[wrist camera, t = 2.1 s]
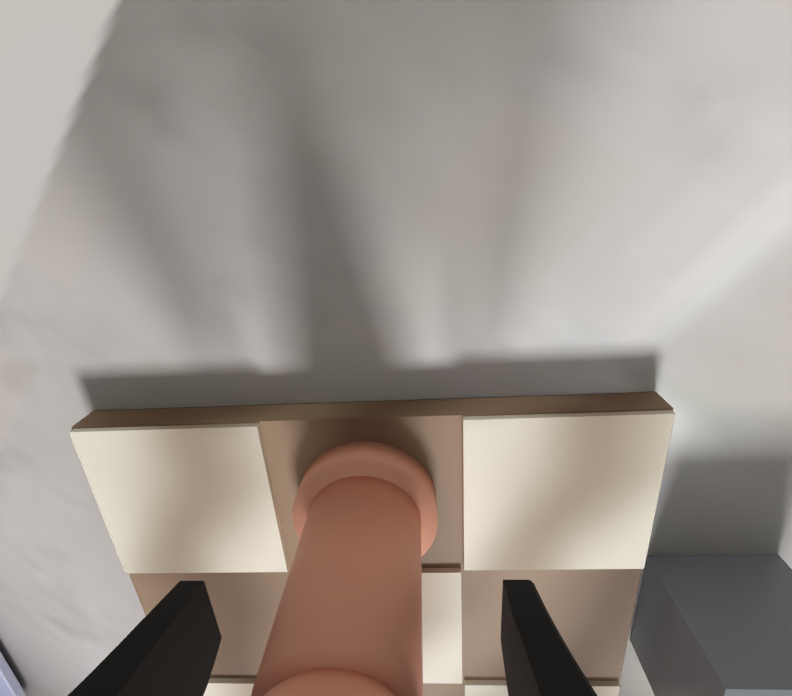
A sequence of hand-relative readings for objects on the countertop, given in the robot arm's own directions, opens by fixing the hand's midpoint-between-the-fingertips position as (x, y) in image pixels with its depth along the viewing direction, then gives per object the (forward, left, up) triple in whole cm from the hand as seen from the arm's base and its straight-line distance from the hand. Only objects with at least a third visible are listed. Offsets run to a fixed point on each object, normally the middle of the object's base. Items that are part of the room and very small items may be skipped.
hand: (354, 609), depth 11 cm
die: (+12, -6, -5) cm, 14 cm away
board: (0, -6, -5) cm, 8 cm away
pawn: (0, 0, -4) cm, 4 cm away
